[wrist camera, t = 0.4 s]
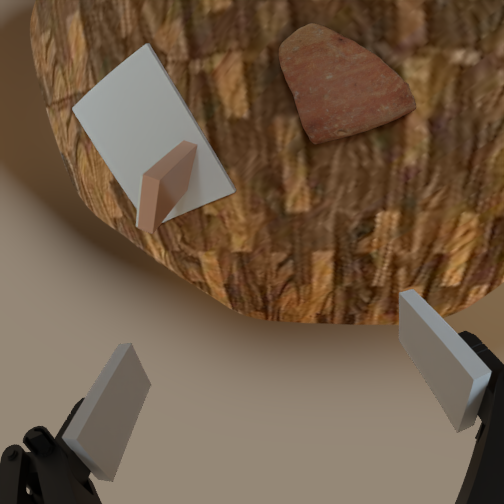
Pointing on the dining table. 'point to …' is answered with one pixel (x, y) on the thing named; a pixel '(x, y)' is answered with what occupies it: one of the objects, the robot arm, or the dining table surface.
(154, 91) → the grey mat
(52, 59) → the dining table surface
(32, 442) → the robot arm
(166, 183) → the terracotta tile
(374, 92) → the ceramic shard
